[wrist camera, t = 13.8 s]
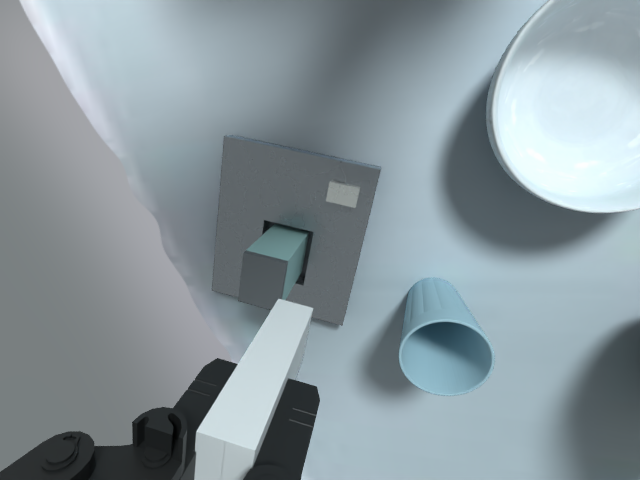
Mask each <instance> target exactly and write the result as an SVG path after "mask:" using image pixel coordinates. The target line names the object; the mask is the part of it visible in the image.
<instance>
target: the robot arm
mask: <svg viewBox="0 0 640 480" xmlns="http://www.w3.org/2000/svg"><path fill="white" fill-rule="evenodd" d="M312 313H313V308H311V307H308V306H304V305H300V304H297V303H293V302H289V301H286V300H282V299H278V300H277V302H276V303H275V305H274V307H273V308H272V310H271V312H270V313H269V315H268V316H267V318H266V320H265V321H264V323H263V324H262V326H261V328H260V329H259V331H258V333H257V334H256V336H255V337H254V339H253V341H252V342H251V344H250V346H249V347H248V349H247V350H246V352H245V354H244V355H243V357H242V358H241V360H240V362H239V363H238V364H235V363H232V362H229V361H225V360H221V359H218V358H217V359H215V360H214V361H212V362H211V363H209V364H207V365H206V366H205V367H203V369H202V370H201V372H200V373H199V374H198V376H197V377H196V378H195V381H193V382H192V384H191V385H190V386H189V388H188V390H187V391H186V392H185V393H184V394H183V396H182V397H181V398H180V400H179V401H178V402H177V404H176V405H175V406H174V408H165V407H162V408H156V409H151V410H149V411H147V412H145V413H143V414H141V415H140V416H139V417H138V418H136V419H135V420H134V421H133V422H132V423H133V424H132V426H133V444H131V445H124V446H94V441H93V440H92V438H91V437H90V436H89V435H88V434H85V433H83V432H66V433H62V434H58V435H55V436H53V437H52V438H50V439H48V440H46V441H44V442H43V443H41V444H40V445H38V446H37V447H35V448H34V449H33V450H31V451H30V452H28V453H27V454H25V455H24V456H23V457H21V458H20V459H18V460H17V461H15V462H14V463H13V464H11V465H10V466H8V467H7V468H5V469H4V470H2V471H1V472H0V480H301V474H302V470H303V467H304V463H305V459H306V455H307V451H308V447H309V443H310V439H311V435H312V431H313V427H314V423H315V419H316V415H317V410H318V406H319V402H320V398H319V394H318V389H317V387H316V386H313V385H309V384H306V383H303V382H299V381H296V377H297V375H298V372H299V369H300V366H301V364H302V361H303V356H304V351H305V346H306V342H307V337H308V332H309V327H310V322H311V318H312Z"/></svg>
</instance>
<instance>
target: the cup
mask: <svg viewBox="0 0 640 480" xmlns="http://www.w3.org/2000/svg"><path fill="white" fill-rule="evenodd" d="M494 363H495V355H494V350H493V347H492V345H491V343H490V341H489V339H488V338H487V336H486V335H485V333H484V332H483V330H482V329H481V327H480V326H479V324H478V323H477V321H476V320H475V318H474V317H473V315H472V314H471V312H470V310H469V309H468V307H467V306H466V304H465V303H464V301H463V300H462V298H461V296H460V295H459V293H458V292H457V291H456V289H455V288H454V287H453V286H452V285H451V284H450V283H449V282H447V281H445V280H442V279H439V278H426V279H423V280H421V281H419V282H417V283H416V284H415V285H414V286H413V287H412V288H411V289H410V291H409V294H408V297H407V303H406V309H405V316H404V322H403V329H402V336H401V341H400V347H399V364H400V367H401V369H402V371H403V373H404V375H405V376H406V377H407V379H408V380H409V381H410V382H411V383H412V384H414V385H415V386H416V387H418V388H420V389H421V390H423V391H426V392H428V393H431V394H435V395H440V396H456V395H462V394H465V393H468V392H471V391H473V390H475V389H477V388H478V387H480V386H481V385H482V384H483V383H484V382H485V381H486V380H487V379H488V378H489V376H490V375H491V373H492V371H493V368H494Z"/></svg>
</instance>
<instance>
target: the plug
mask: <svg viewBox="0 0 640 480" xmlns="http://www.w3.org/2000/svg"><path fill="white" fill-rule="evenodd" d="M308 235H309V232H307V231H303V230H299V229H295V228H291V227H287V226H283V225H278V224H274V225H273V226H272V227H271V228H270V229H268V230H267V231H266V232H265V233H264V234H263V235H262V236H261V237H260V238H259V239H258V240H257V241H255V242H254V243H253V244H252V245H251V246H250V247H249V248H248V249H247V250H246V251H245V252H244V253H243V260H242V269H241V278H240V286H239V295H238V301H240V302H244V303H247V304H251V305H255V306H258V307H262V308H266V309H269V310H272V308H273V307H274V305H275V303H276V302H277V300H278V299H282V300H286V298H287V297H288V295H289V293H290V291H291V290H292V288H293V286H294V284H295V283H296V281H297V279H298V278H299V276H300V274H301V272H302V268H303V263H304V257H305V252H306V246H307V241H308Z"/></svg>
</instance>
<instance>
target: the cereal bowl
mask: <svg viewBox="0 0 640 480" xmlns="http://www.w3.org/2000/svg"><path fill="white" fill-rule="evenodd" d="M486 123H487V133H488V135H489V140H490V145H491V146H492V150H493V151H494V155H495V156H496V158H497V160H498V162H499V163H500V165H501V167H502V168H503V169H504V171H505V172H506V173H507V174H508V175H509V176H510V177H511V178H512V180H514V181H515V182H516V183H517V184H518V185H519V186H521V187H522V188H523V189H524V190H526V191H527V192H529V193H531V194H532V195H534V196H535V197H538V198H539V199H541V200H543V201H546V202H548V203H550V204H553V205H556V206H559V207H562V208H566V209H570V210H574V211H579V212H587V213H617V212H625V211H631V210H637V209H640V0H548V1H547V2H546V3H545V4H544V5H543V6H541V7H540V9H538V10H537V11H536V12H535V13H534V14H533V15H532V16H531V17H530V18H529V19H528V21H527V22H526V23H525V24H524V25H523V26H522V27H521V28H520V30H519V31H518V32H517V34H516V35H515V37H514V38H513V39H512V40H511V42H510V44H509V45H508V47H507V48H506V50H505V52H504V53H503V55H502V57H501V59H500V61H499V63H498V65H497V67H496V69H495V73H494V75H493V77H492V81H491V84H490V88H489V91H488V97H487V104H486Z"/></svg>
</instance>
